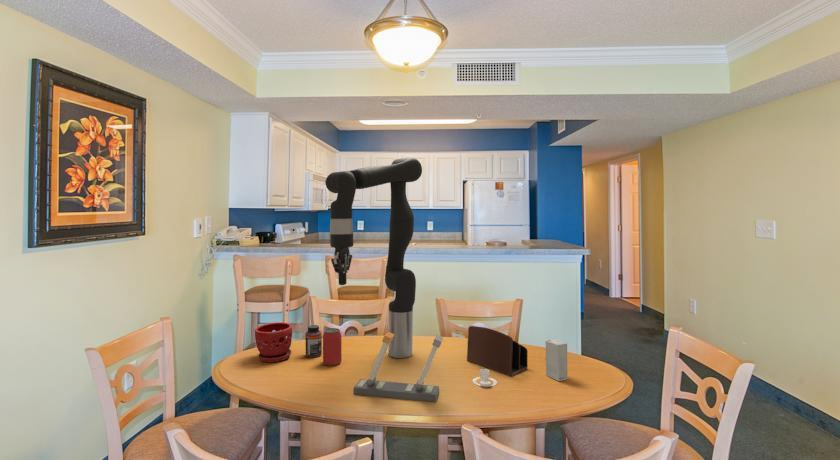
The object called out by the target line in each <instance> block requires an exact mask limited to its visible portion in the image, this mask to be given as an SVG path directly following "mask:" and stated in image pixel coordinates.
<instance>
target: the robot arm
mask: <svg viewBox="0 0 840 460" xmlns="http://www.w3.org/2000/svg"><path fill="white" fill-rule="evenodd" d="M422 174H423V167H422V163H421V162H420V161H419V160H418V159H417V158H414V157H402V158H396V159H394V160H393V161H391V164H386V165H376V166H365V167H360V168H357V169H352V170H345V171H344V170H342V171H333V172H331V173H329V174H328V175H327V177H326V179H325V181H324V182H325V183H324V185H325V187H326V189H327V190H328V191H329V192H331V193H333V194H337V195H336V199H335V200H333V201H332V202H330V203H331V204H330V223H329V242H330V243H329V245H330V247H331V248H334V255H333V256H334V258H331V264H332V266H333V269H334V272H335V273H337V274H338V285H339V286H345V285H347V283H348V282H347V273H348V271H350V268H351V263H352V259H353V254H350V248H352V247H353V246H354V223H353V203H354V200H355V195H356V192H357V191H356V190H365V189H369V188H373V187H378V186H382V185H385V184H390V213H389V214H390V215H389V233H388V235H389V236H388V237H389V238H388V239H389V240H388V253H387V259H386V261H387V262H386V268H385V273H384V275H385V276H384V277H385V278H384V282H385V285H386V288H387V289H388V290H390V291H393V292H395V294H394V296H395V297H394V300H392V301H390V302H389V303H388V332H390V333H392V334H394V337H393V339H392V341H391V342H390V343H389V346H388V356H389V357H391V358H394V359H406V358H410V357H411V356H413V341H414V340H413V336H414V335H413V333H414V331H413V330H414V329H413V327H414V326H413V325H414V324H413V323H414V322H413V321H414V317H413V316H414V315H413V314H414V311H413V310H414V309H413V308H414V305H415V302H416V301H415V300H416V291H417V290H416V287H417V281H416V275H415V273H414V272H413V271H412V270H411V269H409V268H404V265H405V263H404V261H405V260H404V259H405V254H406V251H407V250H408V247H409V245H410V242H411V241H412V240H413V236H414V227H415V217H414V216H415V215H414V212H413V210H412V208H411V205H410V204H409V201H408V198H407V192H406V191H407V183H413V182H416V181H418V180H419V179H420V178H421V176H422Z"/></svg>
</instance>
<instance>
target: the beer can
mask: <svg viewBox="0 0 840 460" xmlns="http://www.w3.org/2000/svg"><path fill="white" fill-rule="evenodd" d="M322 363H323V364H324V365H325V366H328V367H329V366H330V367H331V366H337V365H339V364H340V363H342V333H341V329H340V328H335V327H331V328H326V329H325V330H324V332H323V334H322Z"/></svg>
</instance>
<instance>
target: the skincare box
mask: <svg viewBox="0 0 840 460" xmlns="http://www.w3.org/2000/svg"><path fill="white" fill-rule="evenodd" d="M545 375H546V376H547V377H549V378H551V379H553V380H555V381H557V382H562V381H567V380H568V343H566V342H563V341H561V340H558V339H555V338H553V339H547V340H545Z"/></svg>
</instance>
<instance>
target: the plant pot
mask: <svg viewBox="0 0 840 460" xmlns="http://www.w3.org/2000/svg"><path fill="white" fill-rule="evenodd" d="M292 337H293V326H292V324H291V323H289V322H270V323H266V324H262V325H259V326H258V327H256V328H255V329H254V338H255V345H256V348H257V351H258V353H259V354H258V356H257V357H258V358H259V360H260V361H263V362H266V363H277V362H281V361H284V360H286V359H288V358H289V357H290V356H291V354H292V349H290V348H291V345H292Z"/></svg>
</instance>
